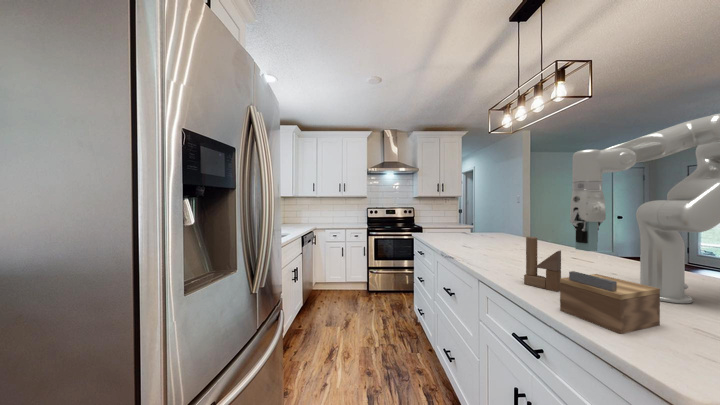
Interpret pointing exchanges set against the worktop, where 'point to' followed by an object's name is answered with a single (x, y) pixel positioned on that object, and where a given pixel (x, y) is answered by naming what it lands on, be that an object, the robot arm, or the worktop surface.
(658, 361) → the worktop surface
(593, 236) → the teal rectangular block
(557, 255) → the wooden block structure
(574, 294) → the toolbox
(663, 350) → the worktop surface
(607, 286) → the lid
